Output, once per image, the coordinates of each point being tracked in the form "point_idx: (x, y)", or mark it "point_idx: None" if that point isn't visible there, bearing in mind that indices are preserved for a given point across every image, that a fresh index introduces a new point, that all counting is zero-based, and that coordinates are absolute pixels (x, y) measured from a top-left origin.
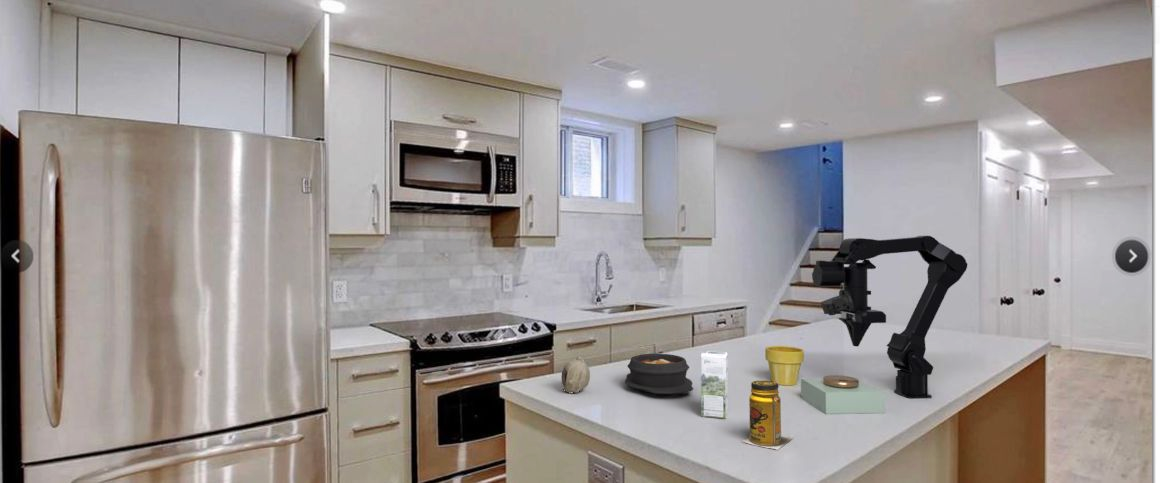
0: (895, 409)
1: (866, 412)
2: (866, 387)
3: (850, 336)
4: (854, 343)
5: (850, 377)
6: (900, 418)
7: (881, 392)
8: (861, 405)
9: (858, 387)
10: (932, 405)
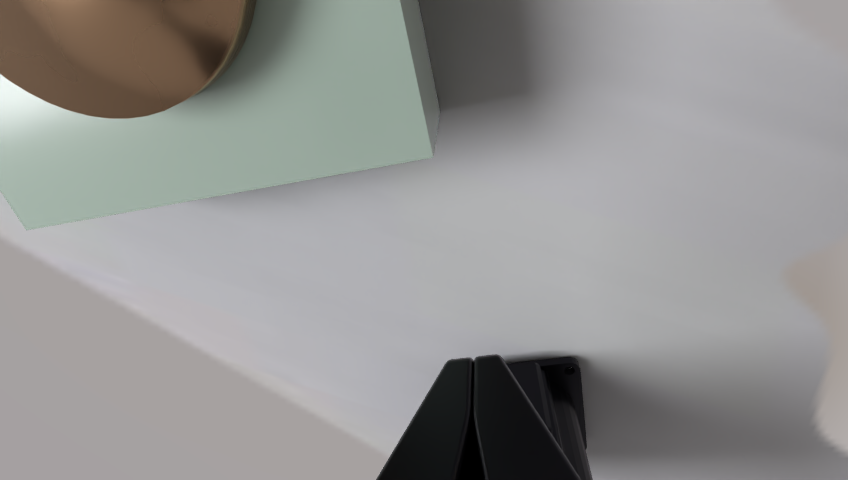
0: (215, 249)
1: None
2: (100, 149)
3: (538, 464)
4: (433, 389)
5: (177, 72)
6: None
7: (18, 208)
8: None
9: None
10: (340, 411)
